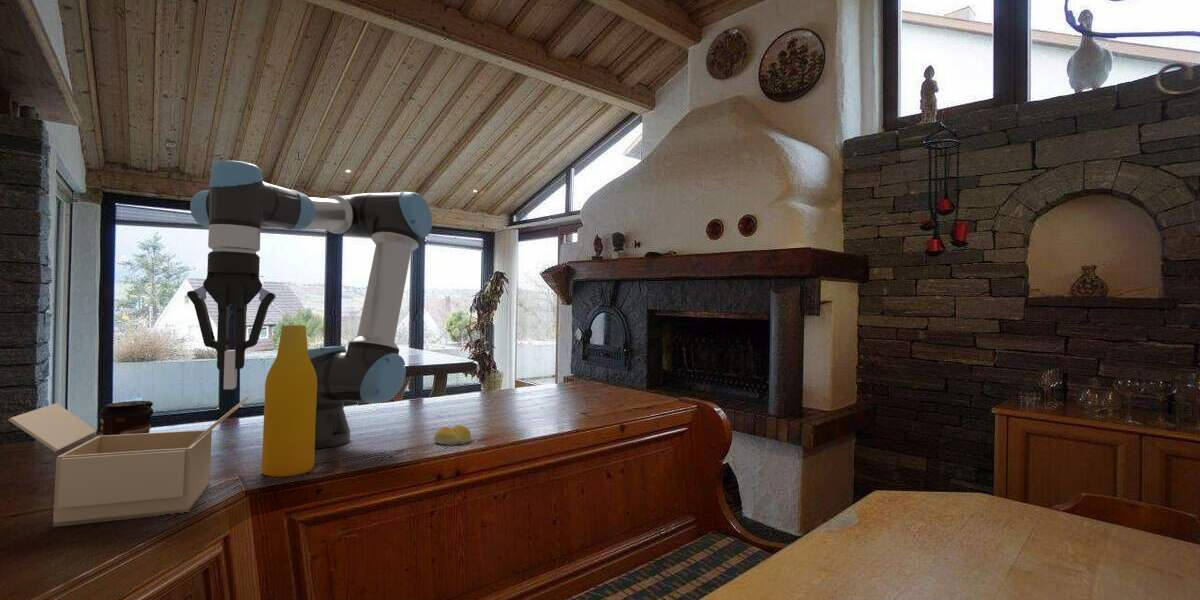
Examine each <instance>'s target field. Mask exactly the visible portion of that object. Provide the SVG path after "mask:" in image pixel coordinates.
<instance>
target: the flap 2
mask: <svg viewBox="0 0 1200 600" xmlns="http://www.w3.org/2000/svg"><path fill="white" fill-rule="evenodd" d="M249 399H250V397H249V396H246V397H244V399H242V400H241V401H240V402H238V403H237V404H236V405H235V406H233V407H231V409H230V410H229V411H228V412H226V413H225V414H224V415H222V416H221V417H220V418H219V419H218V420H216V421H214V423H213V424H211V425H210V426H209V427H208V428H207V429H205V430H206V431H204V432H203V433H202V434H201V435H200V436H199V437H198V438H196V439H195V440H194V441H193V442H194V443H196V442H197V441H198V440H200V439H201V438H202V437H203V436H205V435H206V434H207V433H208V432H209V431H211V430H212V431H213V429H214V428H215V427H217V426H219V424H221V423H222V422H223V421H225V419H227V418H228V417H230V415H231V414H233V413H234V412H235V411H237V410H238V409H239V408H240V407H241V406H242V405H243V404H244V403H245V402H247V401H248V400H249Z"/></svg>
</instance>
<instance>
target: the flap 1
mask: <svg viewBox="0 0 1200 600" xmlns="http://www.w3.org/2000/svg"><path fill="white" fill-rule="evenodd" d="M8 422H11V423H12V424H13V425H14V426H17V428H19V429H20V430H22V431H24V432H25V433H26V434H28V435H29V436H31V437H32V438H34V439H35V440H37V441H38V442H40V443H41V444H42V445H45V446H46V447H48V448H49V449H50V450H52V451H53V452H54V453H56V452H58V451H59V450H62V449H63V448H66V447H68V446H70V445H73V444H74V443H76V442H78V441H81V440H82V439H85V438H87V437H89V436H91V435H92V434H95V433H96V432H97V430H96V429H95V428H94V427H92V426H90V425H89V424H87V423H86V422H85V421H83V420H82V419H80V418H79V417H78V416H76V414H74V413H72V412H70V411H69V410H68V409H66V408H64V407H63V406H62V405H60V404H59V403H57V402H56V403H52V404H49V405H46V406H44V407H40V408H37V409H33V410H30V411H28V412H25V413H24V412H23V413H21V414H18V415H15V416H12V417H9V418H8Z"/></svg>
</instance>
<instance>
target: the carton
mask: <svg viewBox="0 0 1200 600" xmlns="http://www.w3.org/2000/svg"><path fill="white" fill-rule="evenodd" d="M206 430H207V429H200V430H182V431H165V432H149V433H142V434H123V435H105V436H101V435H97V436H95V437H94V438H91V439H89V440H87V441H85V442H83V443H81V444H80V445H77V446H76V447H73V448H72V449H70V450H68V451H65V452H64V453H62V454H60V455H57V456H56V463H55V481H54V485H55V486H54V500H53V515H52V516H53V517H52V518H53V519H52V528H57V527H65V526H75V525H83V524H92V523H103V522H112V521H121V520H122V521H123V520H131V519H141V518H142V519H143V518H150V517H160V516H159V515H162V516H166V515H165V514H171V515H176V514H175V513H180V514H185V513H184V512H188V513H189V512H190V511H191V510H192V509H191V507H192V506H193V505H194V504H195V505H196V503H197V502H198V501H199V499H200V498H201V497H202V496H203V494H204V493H205V492H204V491H206V490H207V489H208V488H207V487H210V482H211V481H210V480H211V479H210V478H211V460H212V459H211V455H212V433H213V429H212V430H211V431H209V432H208V433H207V434H206V435H205V436H203V437H202V438H201V439H200V440H198V441H197V442H196V443H194V442H193V441H194V440H195V439H196V438H198V437H199V436H200V435H201V434H202V433H203V432H204V431H206ZM206 488H207V489H206ZM203 492H204V493H203ZM201 495H202V496H201ZM200 496H201V497H200ZM199 497H200V498H199ZM198 498H199V499H198ZM197 500H198V501H197ZM196 501H197V502H196ZM195 502H196V503H195ZM195 505H194V506H195ZM194 506H193V507H194ZM193 507H192V508H193ZM190 509H191V510H190ZM189 510H190V511H189Z"/></svg>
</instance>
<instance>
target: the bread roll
mask: <svg viewBox="0 0 1200 600" xmlns="http://www.w3.org/2000/svg"><path fill="white" fill-rule="evenodd" d="M471 436H472V434H471V431H470V429H469V428H468V427H467V426H464V425H460V424H459V425H454V426H453V427H449V426H447V427H446V426H445V427H442V428H439V429H438V430H437V431H435V433H434V436H433V440H434V442H435V443H436V444H438V443H439V444H438V445H443V444H446V446H455V445H458V444H459V445H463V444H468V443H470V442H471V441H472V439H473V438H472V437H471Z"/></svg>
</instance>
